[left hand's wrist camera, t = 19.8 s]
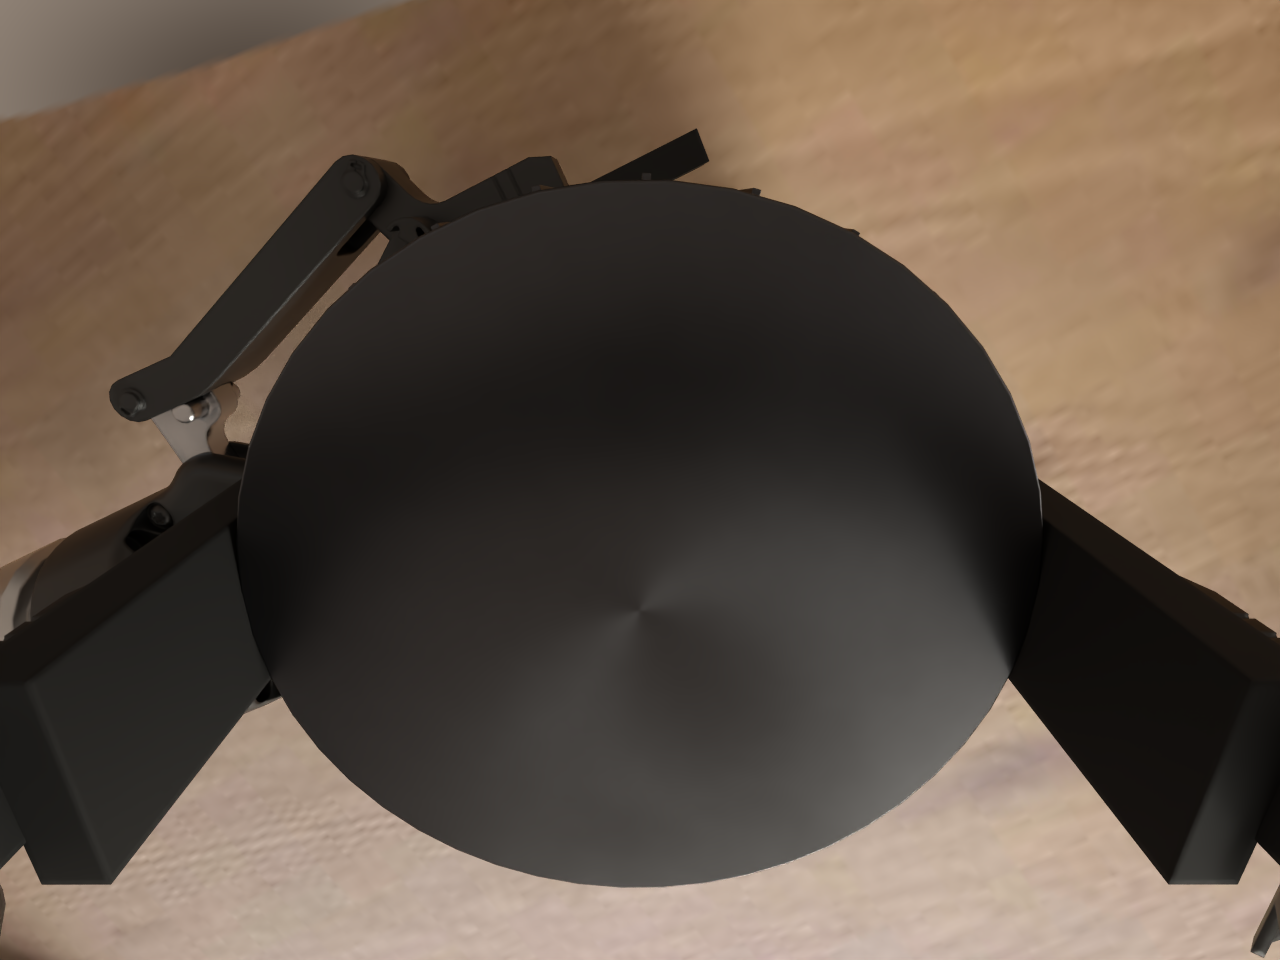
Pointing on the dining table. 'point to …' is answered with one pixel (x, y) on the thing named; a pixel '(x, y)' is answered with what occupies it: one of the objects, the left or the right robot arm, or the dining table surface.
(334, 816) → the dining table surface
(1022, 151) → the dining table surface
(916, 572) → the lid
